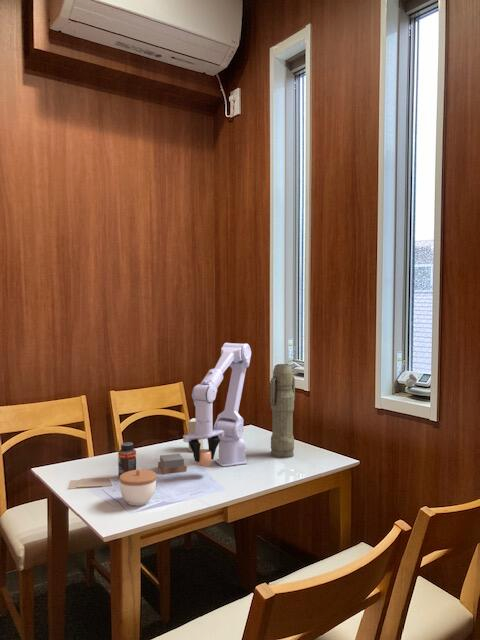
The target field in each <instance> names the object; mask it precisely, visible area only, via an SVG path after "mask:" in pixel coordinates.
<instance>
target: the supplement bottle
mask: <svg viewBox="0 0 480 640" xmlns="http://www.w3.org/2000/svg"><path fill="white" fill-rule="evenodd" d="M117 456H118V457H117V461H118V462H117V464H118V465H117V466H118V468H117V471H118V475H117V476H118V478H119V477H120V475H121V474H123V473H125V472H128V471H132V470H137V450H136V449H134V443H133V442H122V443H121V444H120V450H118V455H117Z"/></svg>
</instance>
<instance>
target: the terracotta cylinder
mask: <svg viewBox="0 0 480 640" xmlns="http://www.w3.org/2000/svg"><path fill="white" fill-rule="evenodd" d="M199 457H200V459H199V462H196V465H197V467H201V468H202V467H203V468H204V467H205V468H206V467H210V466H211V465H212V460H211V450H209V448H203V449H200V452H199Z"/></svg>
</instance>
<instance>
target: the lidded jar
mask: <svg viewBox="0 0 480 640" xmlns="http://www.w3.org/2000/svg"><path fill="white" fill-rule="evenodd" d="M118 479H119V489H120V490H119V491H120V494H121V497H122V498H123V499H124V500H125V501H126V502H127V504H128V503H129V504H128V505H130V504H131V505H130V506H134V505H136V506H143V505H146V504H148V503H149V501H150V500H151V499H152V498H153V496H154V495H155V492H156V489H157V473H156V472H155V471H153V470H149V469H139V468H138V469H136V470H132V471H128V472H125V473H123V474H121V475H120V477H119V476H118Z"/></svg>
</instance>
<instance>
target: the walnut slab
mask: <svg viewBox="0 0 480 640" xmlns="http://www.w3.org/2000/svg"><path fill="white" fill-rule="evenodd" d="M157 467H158V469H159V470H160V471H161V473H162V474H163V475H169V474H170V475H171V474H176V473H177V474H178V473H184V472H188V471H187V469H188V468H187V465H186V464H185V463H184V466H181V467H172V468H163V466H162V465H161V463H160V461H158V465H157Z"/></svg>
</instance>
